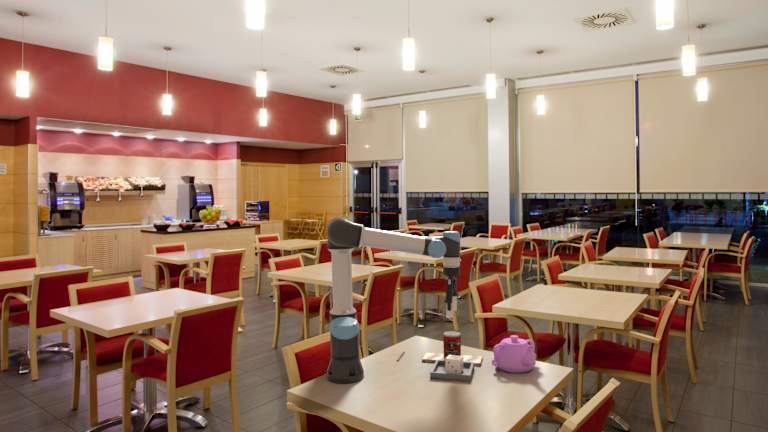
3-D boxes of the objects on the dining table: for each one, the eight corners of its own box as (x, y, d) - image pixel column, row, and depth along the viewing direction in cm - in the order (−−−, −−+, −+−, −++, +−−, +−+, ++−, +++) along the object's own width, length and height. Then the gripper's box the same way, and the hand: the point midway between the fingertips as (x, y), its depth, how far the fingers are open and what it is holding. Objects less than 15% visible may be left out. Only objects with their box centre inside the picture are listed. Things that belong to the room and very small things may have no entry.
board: (396, 361, 229) (396, 358, 229) (402, 352, 241) (402, 349, 241) (480, 367, 220) (480, 364, 220) (482, 357, 232) (482, 355, 232)
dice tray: (430, 378, 207) (430, 372, 207) (436, 365, 223) (436, 359, 223) (470, 381, 203) (470, 375, 203) (474, 368, 219) (473, 362, 219)
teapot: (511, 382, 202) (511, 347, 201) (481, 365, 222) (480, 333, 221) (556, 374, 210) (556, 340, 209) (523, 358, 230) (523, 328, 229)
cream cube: (445, 358, 211) (460, 360, 208) (449, 354, 216) (463, 356, 214) (445, 373, 211) (459, 375, 208) (449, 368, 216) (463, 370, 214)
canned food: (443, 360, 226) (442, 335, 225) (444, 354, 234) (443, 330, 233) (460, 360, 224) (460, 336, 224) (461, 355, 232) (460, 331, 232)
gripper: (456, 270, 214) (456, 321, 215) (463, 262, 238) (463, 308, 239) (438, 270, 216) (438, 320, 217) (447, 262, 240) (447, 307, 241)
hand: (451, 314), depth 228 cm, fingers open, 13 cm apart
